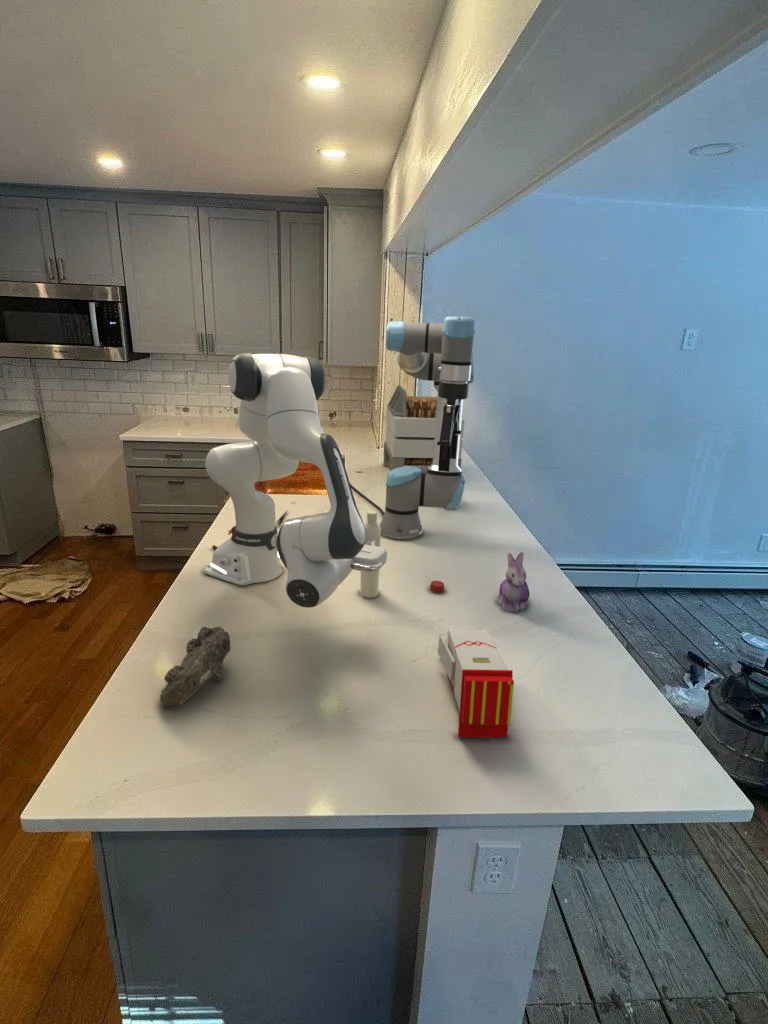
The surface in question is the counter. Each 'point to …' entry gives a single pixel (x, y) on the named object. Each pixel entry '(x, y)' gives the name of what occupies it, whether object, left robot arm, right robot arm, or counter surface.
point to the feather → (281, 518)
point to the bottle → (374, 534)
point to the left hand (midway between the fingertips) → (354, 540)
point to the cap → (437, 586)
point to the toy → (478, 682)
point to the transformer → (411, 430)
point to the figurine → (514, 585)
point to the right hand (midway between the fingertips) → (447, 464)
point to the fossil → (196, 665)
